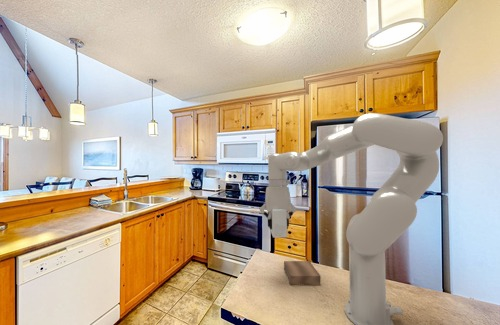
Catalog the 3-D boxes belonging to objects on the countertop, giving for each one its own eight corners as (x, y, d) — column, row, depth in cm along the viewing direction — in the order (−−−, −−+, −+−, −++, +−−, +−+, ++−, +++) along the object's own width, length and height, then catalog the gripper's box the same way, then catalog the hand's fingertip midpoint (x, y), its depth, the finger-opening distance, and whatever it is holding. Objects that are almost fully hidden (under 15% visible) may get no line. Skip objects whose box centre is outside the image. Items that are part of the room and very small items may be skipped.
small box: (287, 237, 69) (286, 210, 70) (272, 237, 69) (272, 210, 70) (283, 231, 77) (282, 206, 78) (270, 231, 77) (270, 206, 78)
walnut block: (309, 269, 84) (309, 260, 84) (320, 286, 72) (320, 275, 72) (283, 269, 83) (283, 261, 84) (290, 286, 71) (290, 276, 72)
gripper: (295, 183, 79) (296, 225, 78) (256, 183, 78) (256, 226, 77) (301, 184, 71) (302, 230, 70) (257, 184, 70) (258, 231, 69)
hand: (278, 227), depth 73 cm, fingers closed on small box, 5 cm apart
